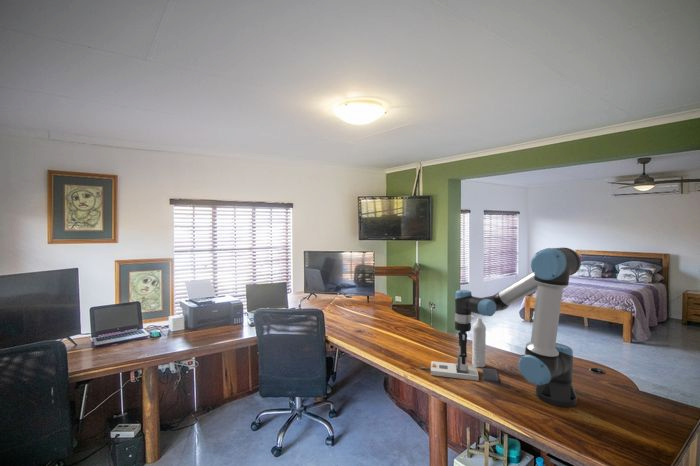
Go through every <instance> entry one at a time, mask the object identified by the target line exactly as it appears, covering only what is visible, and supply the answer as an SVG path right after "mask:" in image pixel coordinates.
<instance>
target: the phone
mask: <svg viewBox="0 0 700 466" xmlns="http://www.w3.org/2000/svg"><path fill="white" fill-rule="evenodd" d="M481 368H482V369H481V371H483V372H482V377H483V381H485V382H493V383H499V381H500V380H499V377H498V372H497V369H493V368H485V367H481Z"/></svg>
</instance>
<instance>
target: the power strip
mask: <svg viewBox="0 0 700 466" xmlns="http://www.w3.org/2000/svg"><path fill="white" fill-rule="evenodd" d="M477 368H478V367H476V366H474V365H471V364H466V374H464V373H457V363H451V362H444V361H441V362H440V361H434V360H431V363H430V367H427V366H425V367H424V366H420V367H419V369H420V370H428V371H430V375H431V376H437V377H444V378H454V379H460V380H469V381H470V380H471V381H477V382H479V378H480V376H479V372H478V369H477Z"/></svg>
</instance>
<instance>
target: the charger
mask: <svg viewBox="0 0 700 466" xmlns="http://www.w3.org/2000/svg"><path fill="white" fill-rule="evenodd" d="M456 361H457V362H456V364H457V373H464V374H466V371H464V370H460V357H459V354H457V359H456Z"/></svg>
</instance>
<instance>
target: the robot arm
mask: <svg viewBox="0 0 700 466" xmlns="http://www.w3.org/2000/svg"><path fill="white" fill-rule="evenodd" d="M581 266H582V260H581V257H580V255H579V254H578V253H577V252H576V251H575V250H574V249H572V248H568V247H548V248H543V249H540V250H538V251H537V252H536V253H534V255H533V256H532V258H531V260H530V270H531V271H532V272H531V271H530V273H528V274H526V275H525V276H523V277H522V278H520V279H518V280H516V281H515V282H513V283H512V284H510V285H508V286H506V287H505V288H504V289H502V290H500V291H498V292H497V293H495V294H493V295H490V296H489V295H488V296H483V297H478V296H473V295H472V291H470V290H467V289H459V290H456V291H455V296H454V297H455V298H454V301H455V302H454V305H455V307H454V308H455V312H454V313H455V314H453V317H454V321H455V322H454V329H455V330H456V331H458V333H457V334H458V355H459V357H460V370H464V371H466V365H467V357H468V355H467V353H468V352H467V343H468V333H467V332H470V331H472V318H471V316H472V313H473V314H478V315H482V316H484V317H493V316H494V314H496V312H499V311H500V312H501V311H504V310H506V309H508V308H509V306H511V305H513V304H514V303H516V302H518V301H520V300H521V299H523V298H525V297H528V296H529V295H531V294H533V293H534V292H536V298H535V302H534V303H535V304H534V311H533V313H534V314H533V319H532V328H531V337H530V342H528V343H526V344H525V350H524V355H522V356H521V357H520V358H519V360H518V369H519V372H520V373H521V375H522V376H523V378H524V379H525V380H526V381H528V382H529V383H531V384H532V385H536V386H535V389H534V390H535V392H534V393H535V394H534V395H535V396H536V397H537V398H538V399H539V400H541V401H542V402H544V403H546V404H549V405H553V406H557V407H562V408H571V407H575V406H577V405H578V397H577V394H576V391H575V388H574V384H573V371H574V370H573V367H574V366H573V365H574V364H573V362H574V354H573V353H574V352H573V349H572V348H571V347H570V346H568V345H565V344H562V343H558V342H557V335H558V330H559V329H558V328H559V323H560V322H559V321H560V313H561V307H562V306H561V305H562V300H563V299H562V298H563V292H564V289H565V288H566V287H568V286H569V282H570V277H571V276H573V275H575V274H577V272H579V270H580V269H581Z"/></svg>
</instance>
